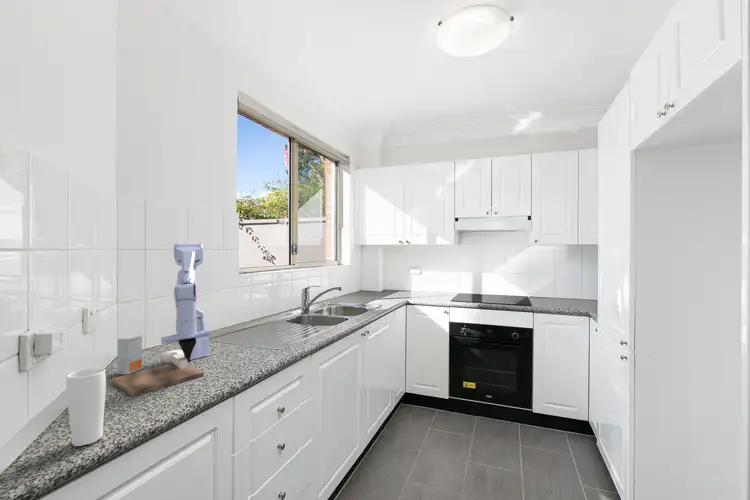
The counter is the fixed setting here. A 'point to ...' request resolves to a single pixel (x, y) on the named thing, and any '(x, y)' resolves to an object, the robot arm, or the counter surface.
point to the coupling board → (155, 378)
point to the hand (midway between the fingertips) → (187, 362)
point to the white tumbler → (86, 404)
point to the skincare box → (129, 354)
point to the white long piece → (174, 358)
